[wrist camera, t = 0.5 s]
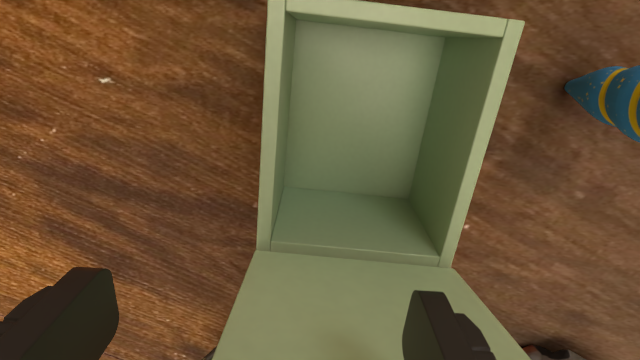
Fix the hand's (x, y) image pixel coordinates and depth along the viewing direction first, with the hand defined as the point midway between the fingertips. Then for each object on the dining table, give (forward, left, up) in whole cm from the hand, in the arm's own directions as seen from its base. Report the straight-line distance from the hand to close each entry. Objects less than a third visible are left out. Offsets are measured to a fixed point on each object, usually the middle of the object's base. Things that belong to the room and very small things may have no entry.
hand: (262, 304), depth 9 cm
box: (-2, +4, -19) cm, 19 cm away
